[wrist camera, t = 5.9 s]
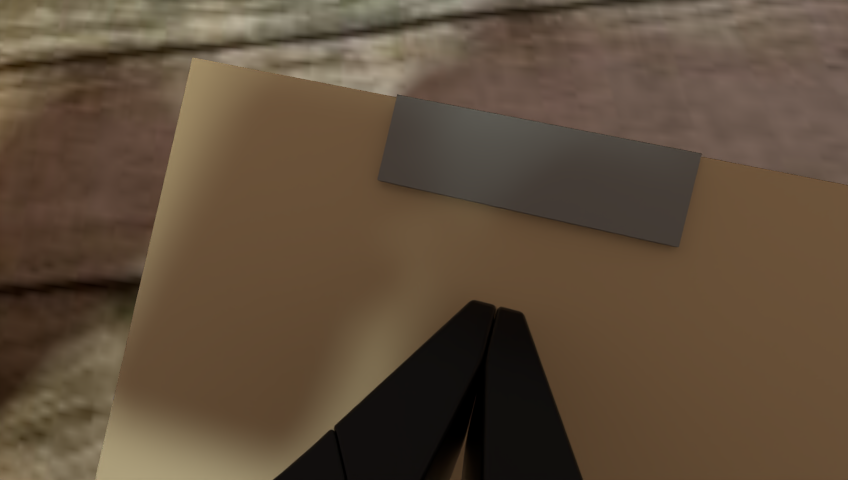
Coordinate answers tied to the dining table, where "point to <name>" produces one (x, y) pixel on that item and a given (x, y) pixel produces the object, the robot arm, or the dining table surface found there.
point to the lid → (476, 285)
